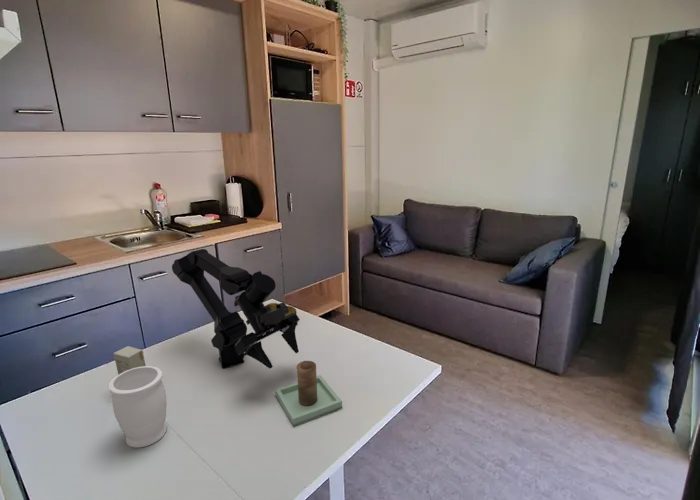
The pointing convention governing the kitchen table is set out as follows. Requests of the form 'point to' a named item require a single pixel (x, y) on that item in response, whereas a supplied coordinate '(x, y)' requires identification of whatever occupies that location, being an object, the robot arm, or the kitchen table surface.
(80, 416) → the kitchen table surface
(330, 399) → the tray
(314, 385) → the mill
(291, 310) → the potato
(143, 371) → the jar
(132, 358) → the skincare box
